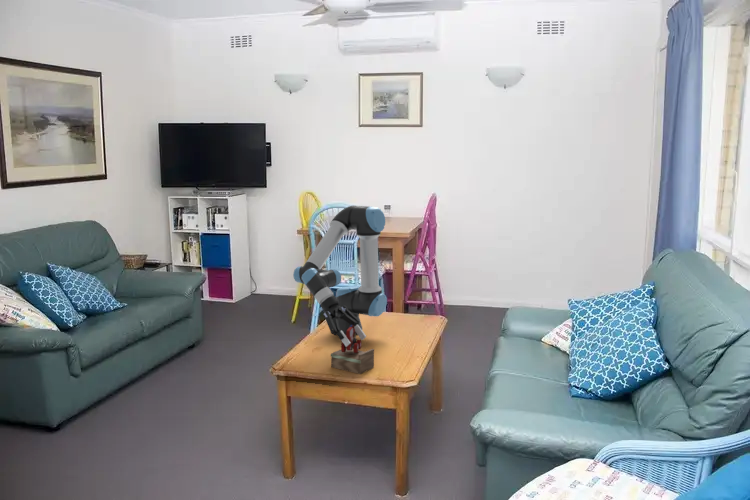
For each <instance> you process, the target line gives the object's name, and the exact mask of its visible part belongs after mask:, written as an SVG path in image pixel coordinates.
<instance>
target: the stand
mask: <svg viewBox="0 0 750 500" xmlns="http://www.w3.org/2000/svg"><path fill="white" fill-rule="evenodd" d="M330 359H331V360H330V361H331V363H330V366H331V368H335V369H338V370H342V371H346V372H350V373H354V374H359V375H362V374H363V373H365V372H368V371H369V370H372V369H373V368H375V349H374V348H371V349H368V350H366V351H363V350H360V349H358V353H354V351H353V349H352V350H347V349H346V351H345V352H342V351H341V349H339V350H336V351H333V352H331V353H330Z"/></svg>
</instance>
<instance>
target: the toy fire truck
mask: <svg viewBox="0 0 750 500" xmlns="http://www.w3.org/2000/svg"><path fill="white" fill-rule="evenodd" d="M356 335H357V334H355V328H354V325H350V327H349V328H348V329H347V331H346V337H347V338H348V340H349V341H350V342H351V343H350V344H349V345H348V346H347V347H346V346H345V345H344V343H343V342H342V341H341V345H340V350H341V351H342V352H345V351H346V349H347V350H352V349H353V351H354V353H358V350H361V349H362V340H361V339H357V336H356Z"/></svg>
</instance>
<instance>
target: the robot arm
mask: <svg viewBox="0 0 750 500" xmlns="http://www.w3.org/2000/svg"><path fill="white" fill-rule="evenodd" d="M385 225H386V217H385V213H384V212H383V210H382V209H381V208H380V207H376V206H370V205H368V206H367V205H349V206H347V207H345V208H343V209H342V210H340V211H339V212H338V213H336V215H335V216H334V217H333V218H332V219H331V221H330V222H329V226H330V227H329V228H328V229H327V231H326V232H325V233H324V235H323V237H322V238H321V239H320V241H319V242H318V244H317V245H316V247H315V248H314V250H313V251H312V253H311V254H310V256H309V257H308V259H307V260H306V262H305V263H304V264H303V266H297V267H295V269H294V271H293V279H294V281H295V282H296V283H299V284H302V285H305V286H306V288H307V289H308V290H309V292H310V293H311V294H312V295H313V298H314V299H315V300H316V302H317V303H318V305H320V308H321V309H322V310H323V312H324V313H323V314H322V316H323V318H324V319H325V321H326V324H327V326H328V328H329V331H330V334H331V335H333V336H337V337H338V338H339V340H340V341H341V343H342V342H343V343H344V345H345V346H346V347H347V346H348V345H349V344H350V343H351V342H350V341H349V340H348V338H347V337H346V331H347V329H348V328H349V327H350V325H354V328H355V334H356V335H357V336H358V337H359V340H361V341H363V340H364V339H365V338H367V335H366V333H365V332H364V331H363V325H362V321H361V318H360V315H363V316H368V317H379V316H381V315H382V314H383V313H384V312H385V310H386V307H387V305H388V298H387V296H386V294H384V293H383V288H382V287H381V286H380V285H379V246H378V245H379V244H378V241H379V240H378V239H379V237H380V236H381V232H383V231H384V229H385ZM352 230H353V231H354V230H355V231H356V236H357V237H358V238H359V253H360V287H359V285H349V286H341V287H339V288H337V289H336V295H334V292H333V291H332V290H331V288H334V287H336V286H338V285H340V284H341V282H342V275H341V272H340V271H339V270H338V269H328V270H327V269H322V268H323V267H324V266H325V263H326V262H327V261H328V259H329V257H330V256H331V255H332V253H333V251H334V250H335V248H336V247H337V246H338V244H339V242H340V241H341V239H342V238H343V236H345V235H347V234H348V233H349V231H352Z"/></svg>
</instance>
